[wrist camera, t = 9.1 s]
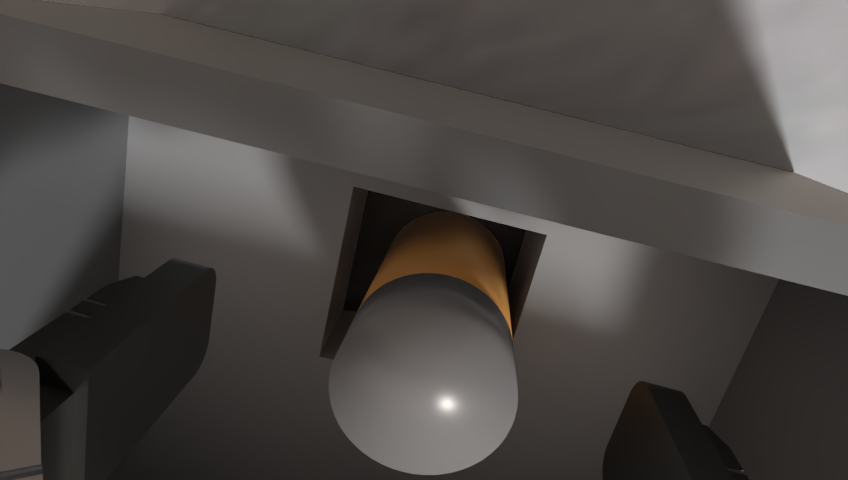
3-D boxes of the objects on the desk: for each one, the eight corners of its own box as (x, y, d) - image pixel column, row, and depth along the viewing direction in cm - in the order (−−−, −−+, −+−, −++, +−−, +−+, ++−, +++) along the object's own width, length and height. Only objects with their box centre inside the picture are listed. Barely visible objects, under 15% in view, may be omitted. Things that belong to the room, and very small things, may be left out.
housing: (160, 14, 16) (-123, -18, 8) (795, 173, 16) (1087, 286, 8) (124, 471, 21) (-71, 708, 14) (603, 592, 21) (675, 898, 13)
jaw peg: (399, 199, 17) (345, 287, 10) (518, 227, 17) (541, 334, 10) (376, 307, 18) (315, 450, 12) (488, 334, 18) (491, 493, 11)
